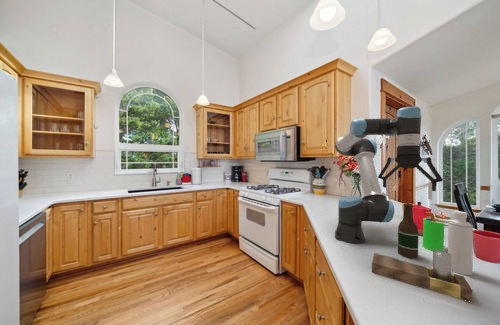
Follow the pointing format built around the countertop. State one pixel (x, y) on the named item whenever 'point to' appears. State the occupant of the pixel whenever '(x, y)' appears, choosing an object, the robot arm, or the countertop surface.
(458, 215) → the white bottle
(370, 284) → the countertop surface
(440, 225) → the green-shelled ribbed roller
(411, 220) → the beer bottle
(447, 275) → the peg
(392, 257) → the mat
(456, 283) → the rail
